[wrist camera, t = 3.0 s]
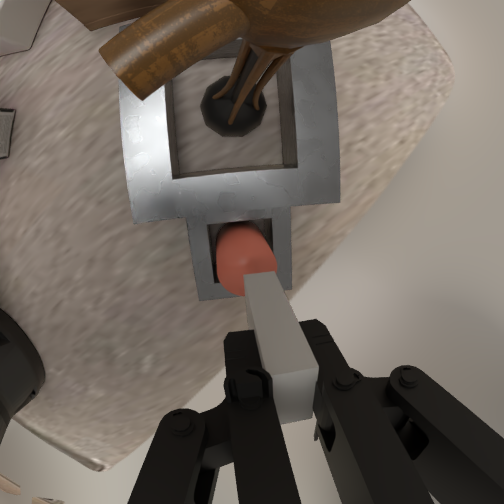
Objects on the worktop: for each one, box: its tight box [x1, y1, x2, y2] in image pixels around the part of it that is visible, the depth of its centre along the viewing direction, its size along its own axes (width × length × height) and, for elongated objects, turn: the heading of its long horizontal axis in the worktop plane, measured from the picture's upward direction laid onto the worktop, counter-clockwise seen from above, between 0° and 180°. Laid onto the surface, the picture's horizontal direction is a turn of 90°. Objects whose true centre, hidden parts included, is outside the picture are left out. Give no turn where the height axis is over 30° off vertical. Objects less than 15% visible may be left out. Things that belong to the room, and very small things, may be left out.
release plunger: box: [216, 220, 277, 296], centre depth 19 cm, size 4×4×5 cm
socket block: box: [119, 24, 340, 301], centre depth 18 cm, size 14×20×4 cm
